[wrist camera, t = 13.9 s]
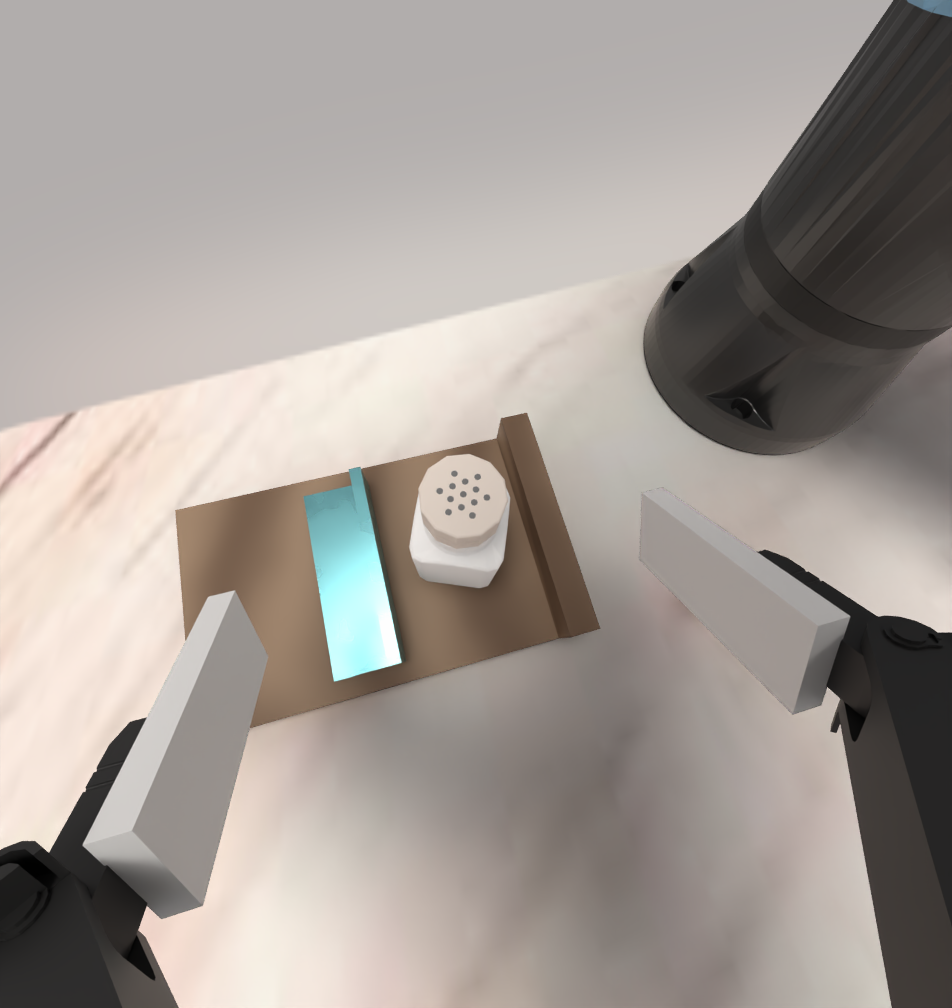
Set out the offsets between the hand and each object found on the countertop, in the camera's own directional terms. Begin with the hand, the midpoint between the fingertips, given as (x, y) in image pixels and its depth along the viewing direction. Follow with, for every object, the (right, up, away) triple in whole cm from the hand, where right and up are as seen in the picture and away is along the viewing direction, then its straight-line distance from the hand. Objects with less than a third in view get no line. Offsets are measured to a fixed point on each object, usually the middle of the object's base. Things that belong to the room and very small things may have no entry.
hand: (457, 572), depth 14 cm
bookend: (-6, -2, +10) cm, 11 cm away
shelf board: (-5, -2, +11) cm, 12 cm away
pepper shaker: (0, 0, +11) cm, 11 cm away
